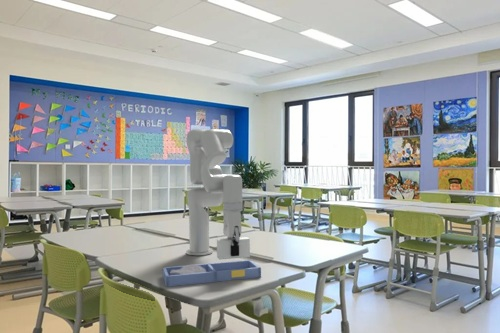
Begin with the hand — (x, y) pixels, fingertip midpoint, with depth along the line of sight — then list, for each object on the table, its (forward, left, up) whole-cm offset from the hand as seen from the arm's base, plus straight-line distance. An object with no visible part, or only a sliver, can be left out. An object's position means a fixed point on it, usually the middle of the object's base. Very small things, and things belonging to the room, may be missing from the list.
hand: (233, 254), depth 149 cm
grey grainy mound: (0, -17, -8) cm, 19 cm away
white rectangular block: (0, 0, -1) cm, 1 cm away
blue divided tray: (0, -9, -8) cm, 12 cm away
